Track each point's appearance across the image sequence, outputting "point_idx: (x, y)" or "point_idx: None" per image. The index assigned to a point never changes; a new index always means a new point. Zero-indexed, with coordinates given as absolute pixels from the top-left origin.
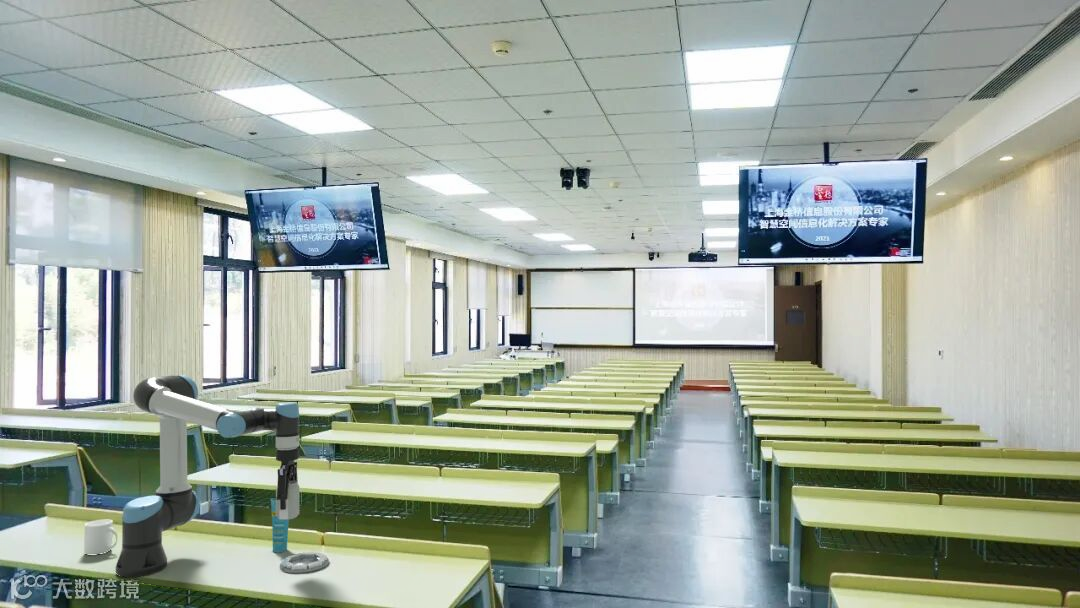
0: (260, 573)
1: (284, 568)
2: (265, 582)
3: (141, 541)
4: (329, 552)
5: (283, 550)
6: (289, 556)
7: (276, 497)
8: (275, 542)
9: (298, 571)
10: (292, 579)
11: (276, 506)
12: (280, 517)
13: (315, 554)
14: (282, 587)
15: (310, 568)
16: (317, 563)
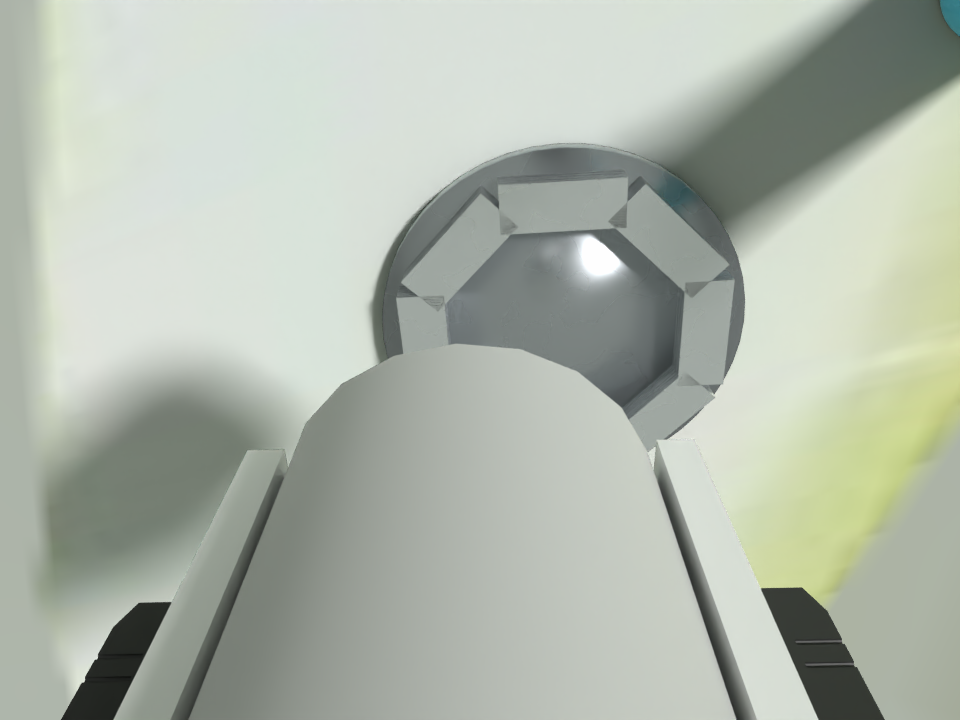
0: (375, 29)
1: (436, 221)
2: (189, 155)
3: None
4: (822, 411)
5: (955, 29)
6: (646, 200)
7: (260, 666)
8: None
9: (385, 338)
10: (275, 327)
11: (317, 491)
12: (242, 481)
13: (669, 387)
14: (126, 310)
15: None
16: None
